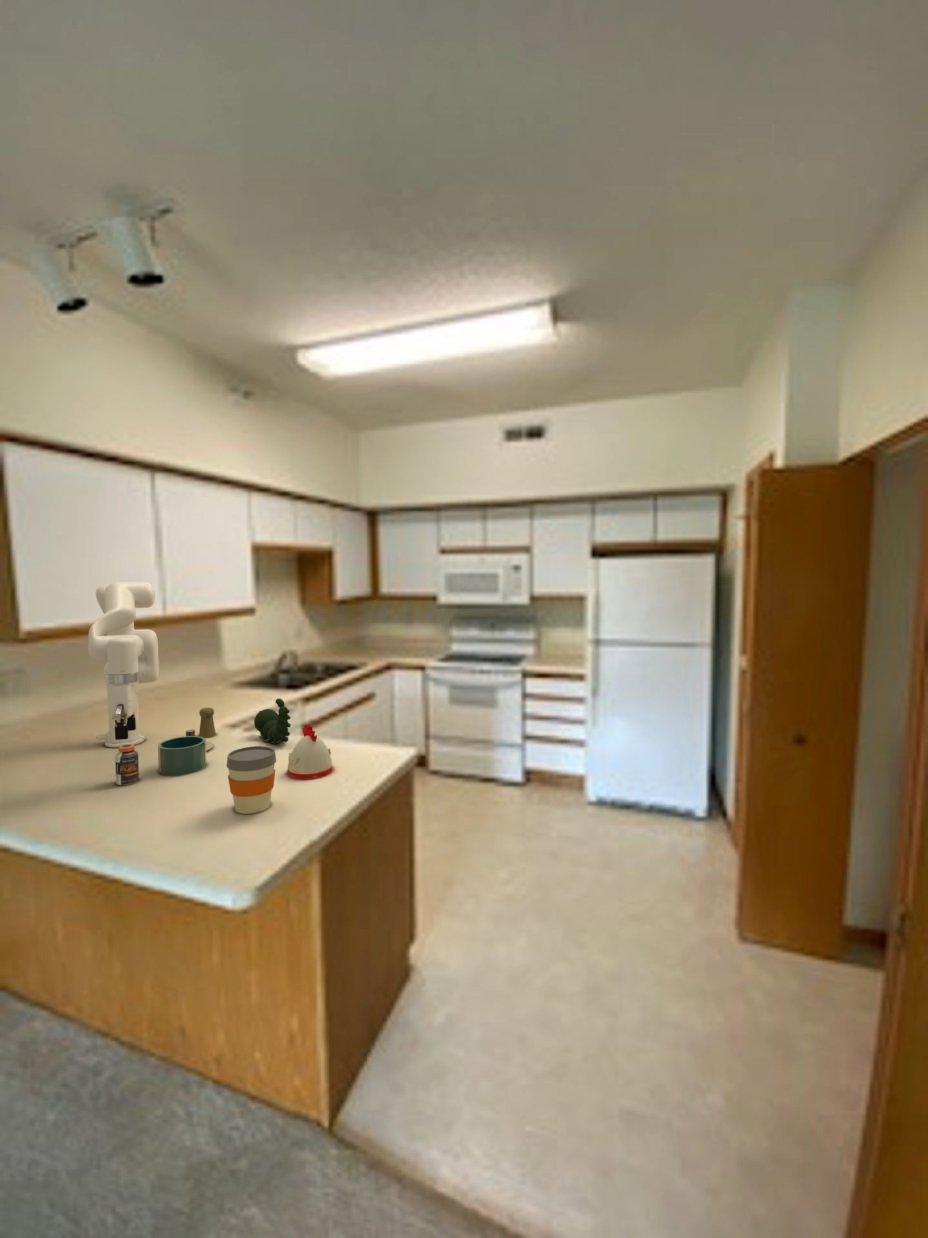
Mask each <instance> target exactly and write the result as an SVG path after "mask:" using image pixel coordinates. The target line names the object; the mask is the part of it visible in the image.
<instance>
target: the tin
mask: <svg viewBox="0 0 928 1238" xmlns="http://www.w3.org/2000/svg"><path fill="white" fill-rule="evenodd" d="M206 741H207V738H203V737H199V735H195V736H186V735H185V736H178V737H172V738H168V739H166V740H163V741H161V742H159V743H158V744H157V758H158V759H157V761H158V772H159V773H160V774H161V775H164V776H182V775H187V774H192V773H196V772H198V771H200V770H203V769H204V768H205V767H206V766H207V751H206Z"/></svg>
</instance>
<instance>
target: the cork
mask: <svg viewBox="0 0 928 1238" xmlns="http://www.w3.org/2000/svg"><path fill="white" fill-rule="evenodd" d="M198 712H199V716H200V721H199V722H200V723H199V732H198V737H203V738H205V739H207V738H213V737H215V736H216V735H217V734H216V733H217V732H216V728H215V723H214V722H215V721H214V714H215V710H214V708H213V707H202V708H201V709H199V711H198Z"/></svg>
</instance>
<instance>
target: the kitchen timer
mask: <svg viewBox="0 0 928 1238" xmlns="http://www.w3.org/2000/svg"><path fill="white" fill-rule="evenodd" d="M313 729H314V728H313V726H311V725H310V724H309V725H308V724H304V726H303V727H302V734H303V737H302V738H300V739H299V740H298V742H297V743H296V744H295V745H294V747H293V748H292V751H291V752H289V753H288V759H287V760H288V761H287V762H288V763H287V776H289V778H292V779H296V780H313V779H319V778H322V777H326V776H327V775H329V774H330V773H332V772H333V760H332V758H331V757H332V756H331V755H332V753H331V752H332V751H331V748H328V746H327V745H326V744H325V742H324V741H323V740H322V739H321V738H319V737H318V735H316V730H313Z"/></svg>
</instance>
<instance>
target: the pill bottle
mask: <svg viewBox="0 0 928 1238" xmlns="http://www.w3.org/2000/svg"><path fill="white" fill-rule="evenodd" d="M135 749H136V748H135V745H133V744H126V745H122V746H119V747H118V753H116V755H115V756H114V758H115V759H114V760H115V783H116V784H117V785H119V786H129V785H132V784H135V783H137V782H138V781H139V780H140V764H139V763H140V761H139V752H138V751H137V750H135Z"/></svg>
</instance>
